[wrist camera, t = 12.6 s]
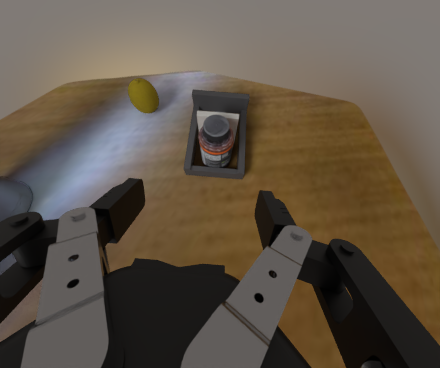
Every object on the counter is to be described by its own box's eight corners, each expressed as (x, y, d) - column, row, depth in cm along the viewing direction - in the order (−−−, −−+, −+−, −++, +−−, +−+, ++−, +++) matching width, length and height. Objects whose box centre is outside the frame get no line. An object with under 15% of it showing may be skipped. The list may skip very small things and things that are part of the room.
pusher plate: (200, 144, 37) (196, 115, 28) (206, 104, 40) (203, 67, 32) (233, 147, 37) (238, 119, 28) (235, 106, 40) (241, 70, 32)
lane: (186, 174, 35) (180, 161, 29) (195, 111, 40) (192, 89, 34) (241, 179, 35) (247, 167, 29) (244, 115, 40) (249, 94, 34)
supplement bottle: (210, 142, 37) (209, 102, 27) (235, 154, 37) (243, 117, 26) (196, 164, 36) (189, 130, 25) (222, 177, 35) (225, 148, 24)
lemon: (133, 113, 39) (114, 82, 32) (150, 97, 41) (135, 65, 33) (151, 125, 38) (136, 96, 31) (168, 109, 40) (157, 78, 32)
